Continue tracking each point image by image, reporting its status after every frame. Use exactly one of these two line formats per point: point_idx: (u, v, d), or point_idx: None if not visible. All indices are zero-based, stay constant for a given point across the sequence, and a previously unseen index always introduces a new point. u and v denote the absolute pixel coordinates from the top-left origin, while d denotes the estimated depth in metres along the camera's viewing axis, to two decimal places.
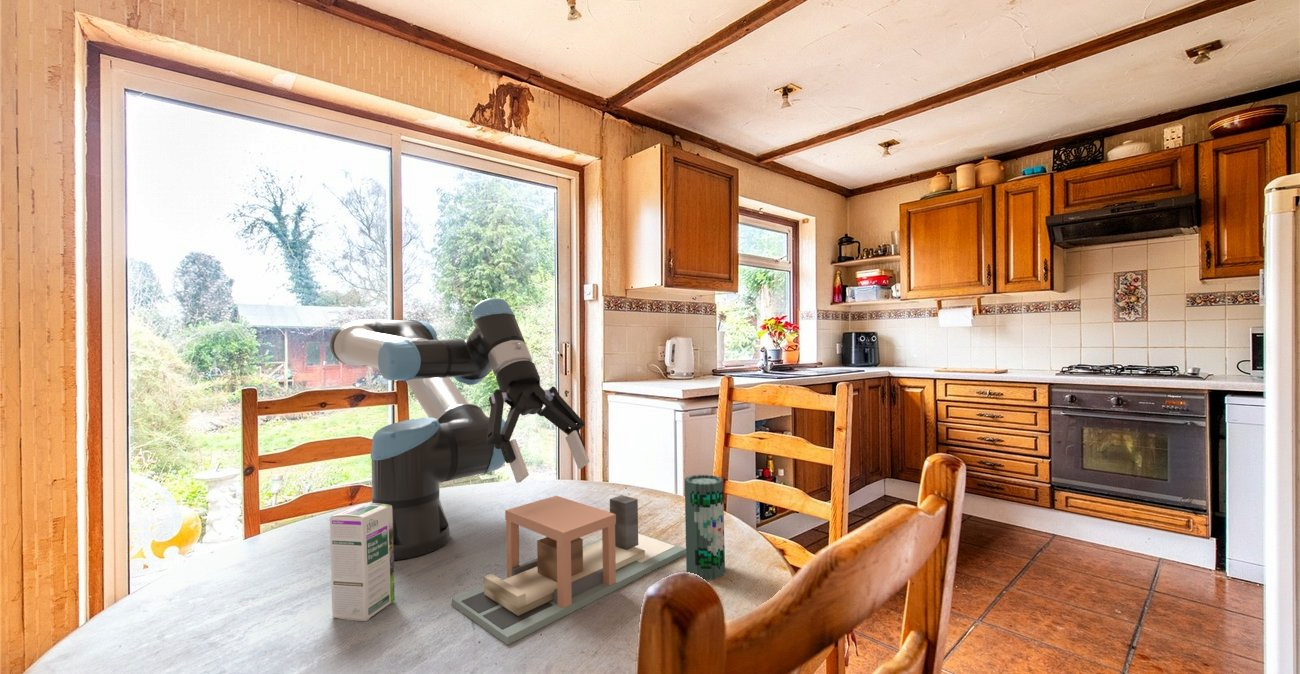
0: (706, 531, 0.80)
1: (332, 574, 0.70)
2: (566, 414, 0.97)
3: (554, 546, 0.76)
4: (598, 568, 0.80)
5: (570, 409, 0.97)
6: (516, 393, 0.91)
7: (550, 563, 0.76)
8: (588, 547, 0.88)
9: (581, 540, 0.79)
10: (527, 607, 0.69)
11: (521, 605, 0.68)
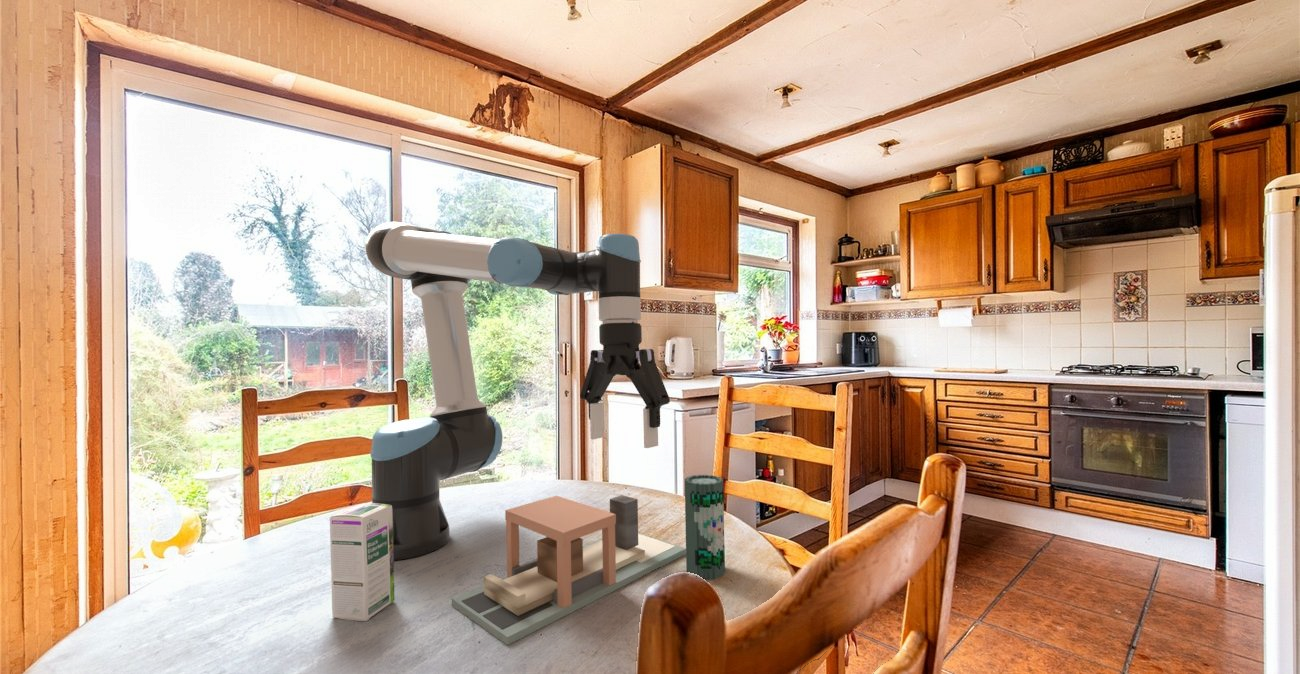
0: (706, 531, 0.80)
1: (332, 574, 0.70)
2: (595, 381, 0.95)
3: (554, 546, 0.76)
4: (598, 568, 0.80)
5: None
6: None
7: (550, 563, 0.76)
8: (588, 547, 0.88)
9: (581, 540, 0.79)
10: (527, 607, 0.69)
11: (521, 605, 0.68)
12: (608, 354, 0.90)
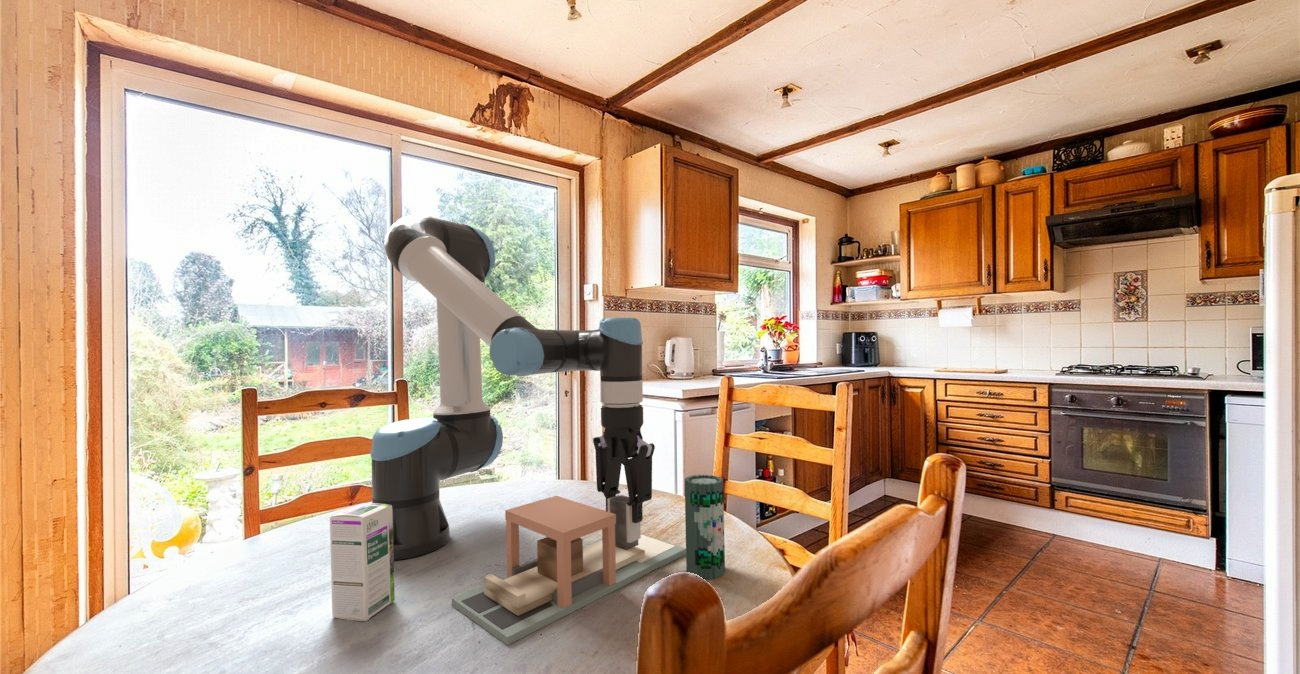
0: (706, 531, 0.80)
1: (332, 574, 0.70)
2: (606, 469, 0.93)
3: (554, 546, 0.76)
4: (598, 568, 0.80)
5: None
6: None
7: (550, 563, 0.76)
8: (588, 547, 0.88)
9: (581, 540, 0.79)
10: (527, 607, 0.69)
11: (521, 605, 0.68)
12: (609, 433, 0.90)
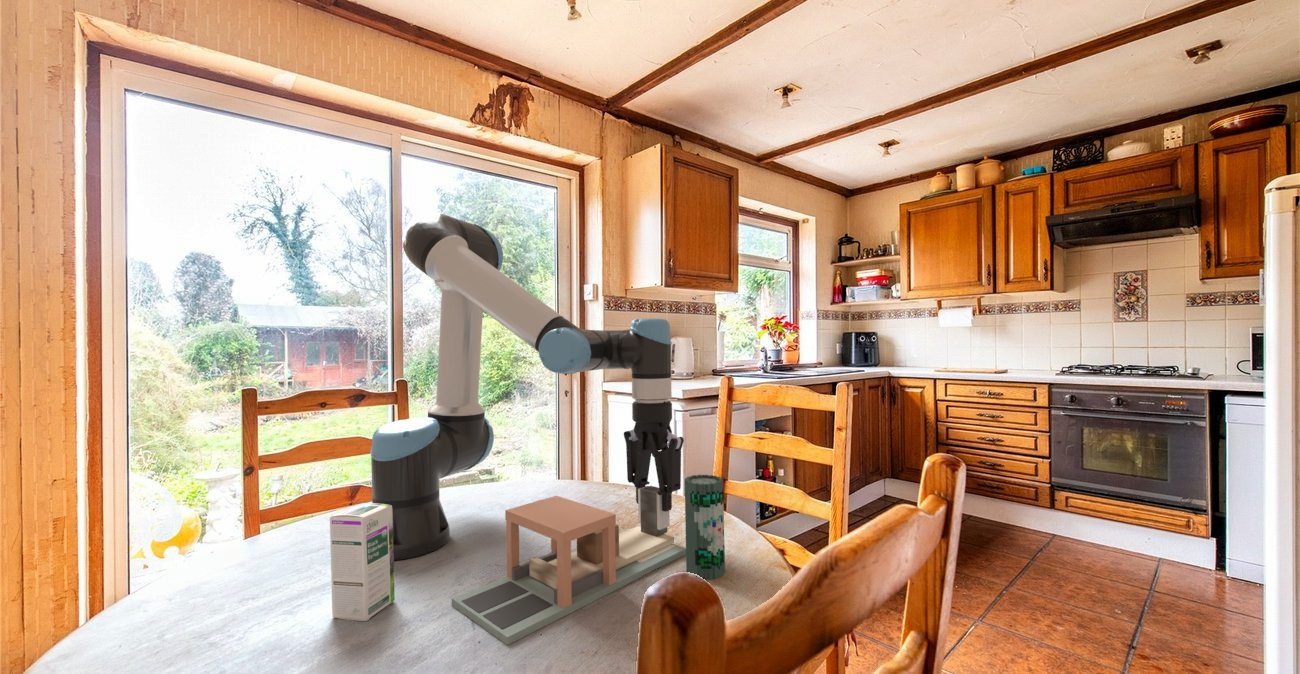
0: (706, 531, 0.80)
1: (332, 574, 0.70)
2: (636, 461, 0.98)
3: None
4: (633, 552, 0.85)
5: None
6: None
7: (590, 547, 0.82)
8: (621, 534, 0.94)
9: (617, 526, 0.85)
10: None
11: None
12: (639, 427, 0.96)
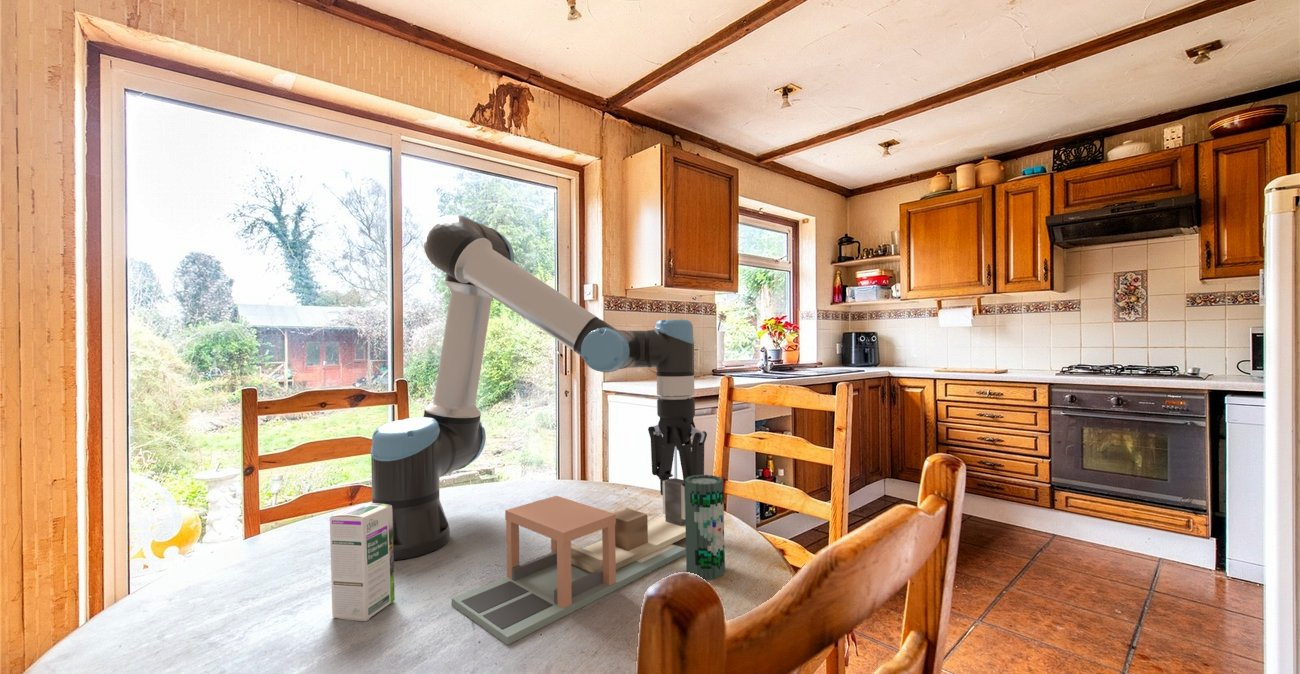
0: (706, 531, 0.80)
1: (332, 574, 0.70)
2: (660, 454, 1.04)
3: (624, 519, 0.87)
4: (660, 540, 0.91)
5: None
6: None
7: (621, 535, 0.87)
8: None
9: (646, 515, 0.90)
10: None
11: None
12: (664, 422, 1.01)
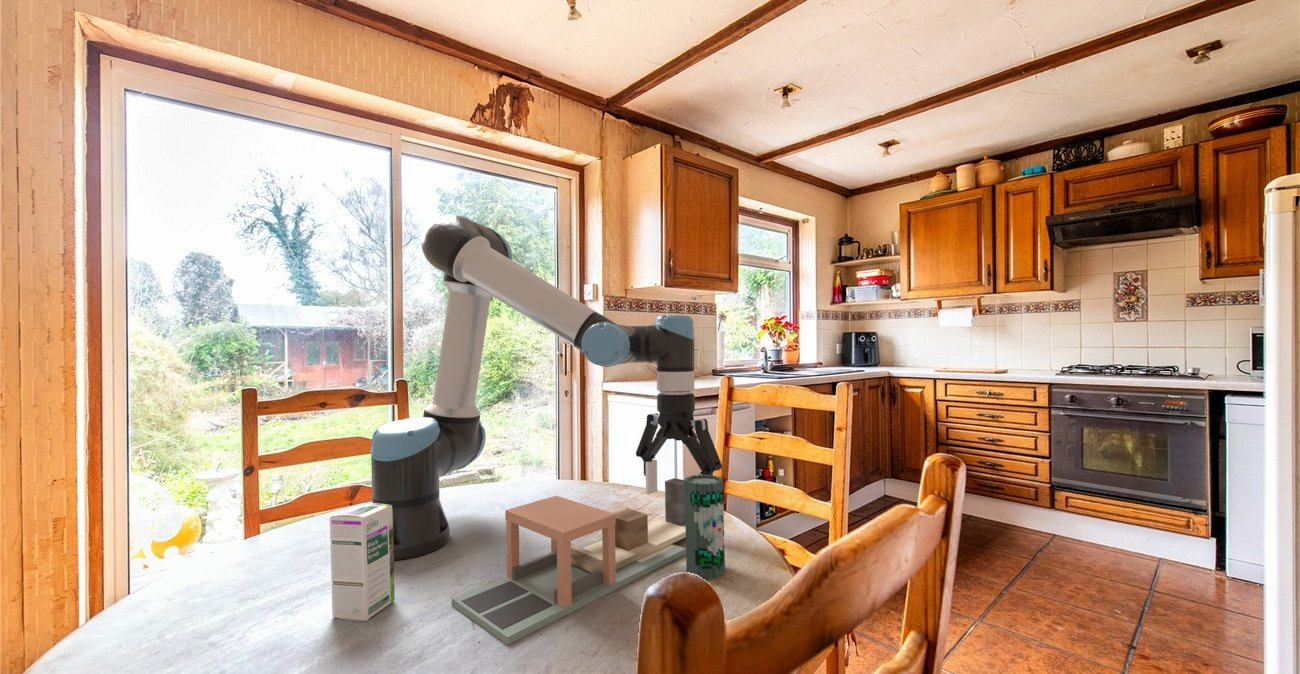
0: (706, 531, 0.80)
1: (332, 574, 0.70)
2: (649, 441, 1.06)
3: (625, 519, 0.87)
4: (660, 540, 0.91)
5: None
6: None
7: (621, 535, 0.87)
8: None
9: (646, 515, 0.90)
10: None
11: None
12: (664, 420, 1.01)
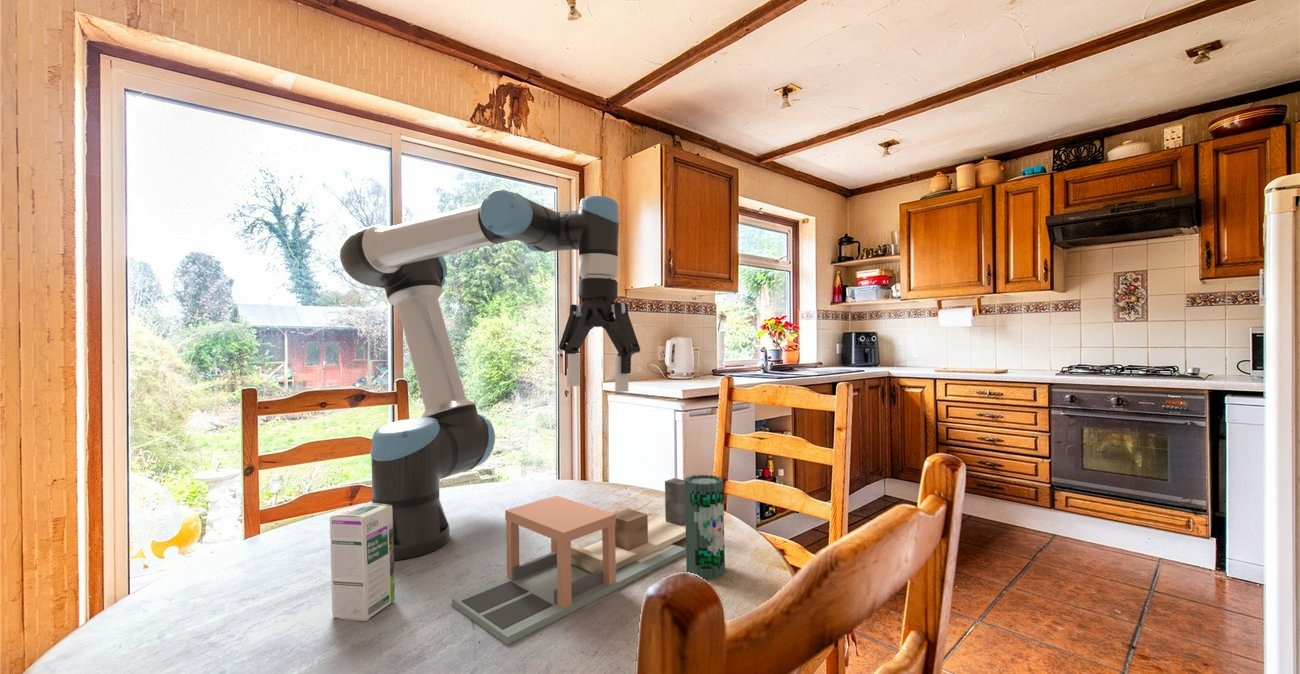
0: (706, 531, 0.80)
1: (332, 574, 0.70)
2: (573, 333, 1.02)
3: (625, 519, 0.87)
4: (660, 540, 0.91)
5: None
6: None
7: (621, 535, 0.87)
8: None
9: (646, 515, 0.90)
10: None
11: None
12: (586, 307, 0.98)
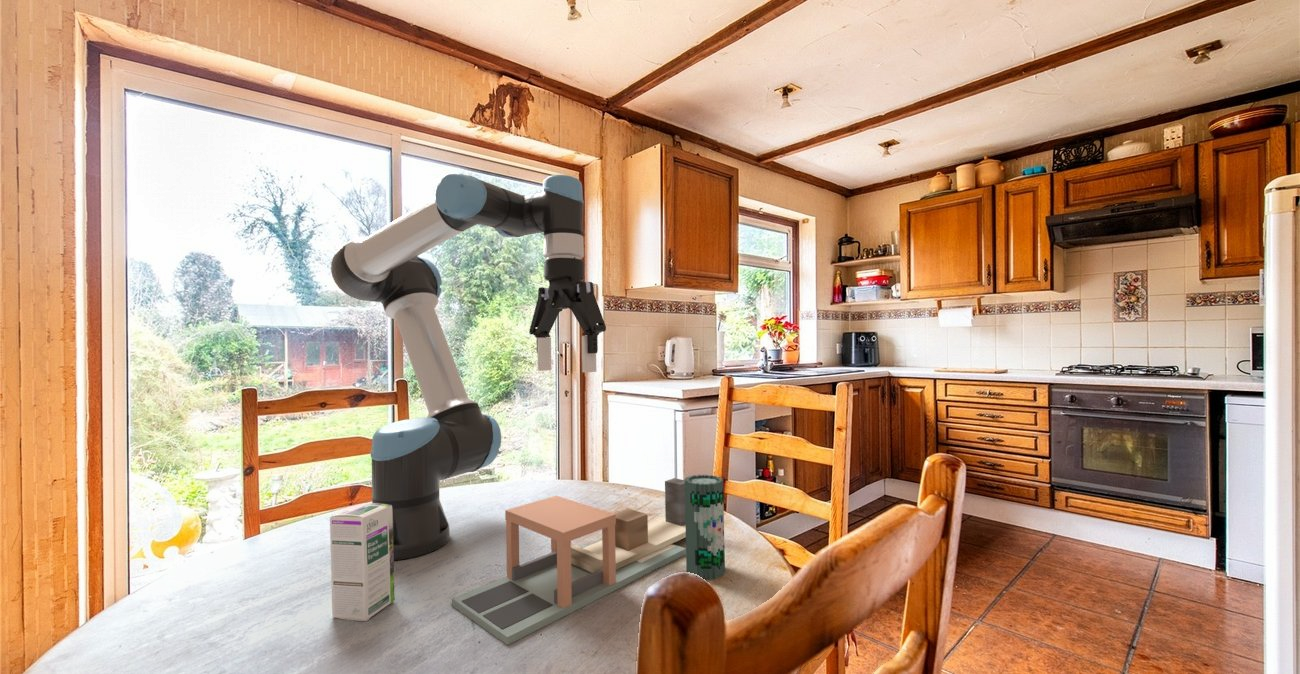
0: (706, 531, 0.80)
1: (332, 574, 0.70)
2: None
3: (625, 519, 0.87)
4: (660, 540, 0.91)
5: None
6: None
7: (621, 535, 0.87)
8: None
9: (646, 515, 0.90)
10: None
11: None
12: (553, 289, 0.96)
